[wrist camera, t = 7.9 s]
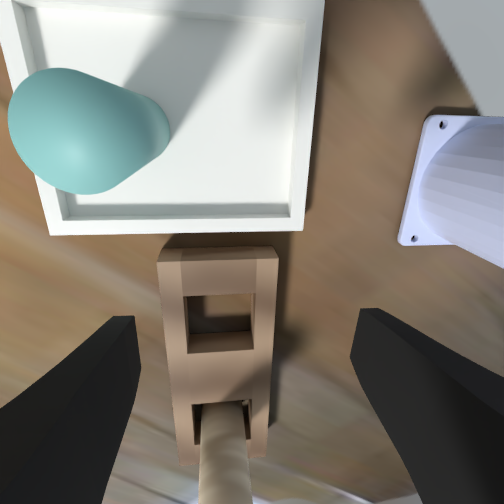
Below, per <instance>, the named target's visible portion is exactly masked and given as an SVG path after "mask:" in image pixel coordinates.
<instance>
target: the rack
mask: <svg viewBox="0 0 504 504" xmlns="http://www.w3.org/2000/svg"><path fill="white" fill-rule="evenodd" d="M278 261H279V258H278V256H277V254H276V252H275V250H274V248H273V246H245V247H204V248H164V249H162V250H161V252H160V255H159V257H158V260H157V271H158V279H159V288H160V297H161V306H162V315H163V324H164V333H165V342H166V350H167V359H168V368H169V377H170V386H171V395H172V404H173V413H174V422H175V430H176V439H177V448H178V457H179V466H185V465H194V464H200V443H201V421H198V422H196V418H195V404H202V403H213V402H225V401H236V400H247V399H249V402H248V417H243V418H244V427H245V437H246V446H247V455H248V458H256V457H265V456H266V447H267V431H268V416H269V400H270V385H271V369H272V354H273V338H274V323H275V307H276V292H277V277H278ZM246 293H251V326H250V331H238V332H221V333H204V334H189V321H188V307H187V296H201V295H223V294H246Z"/></svg>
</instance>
